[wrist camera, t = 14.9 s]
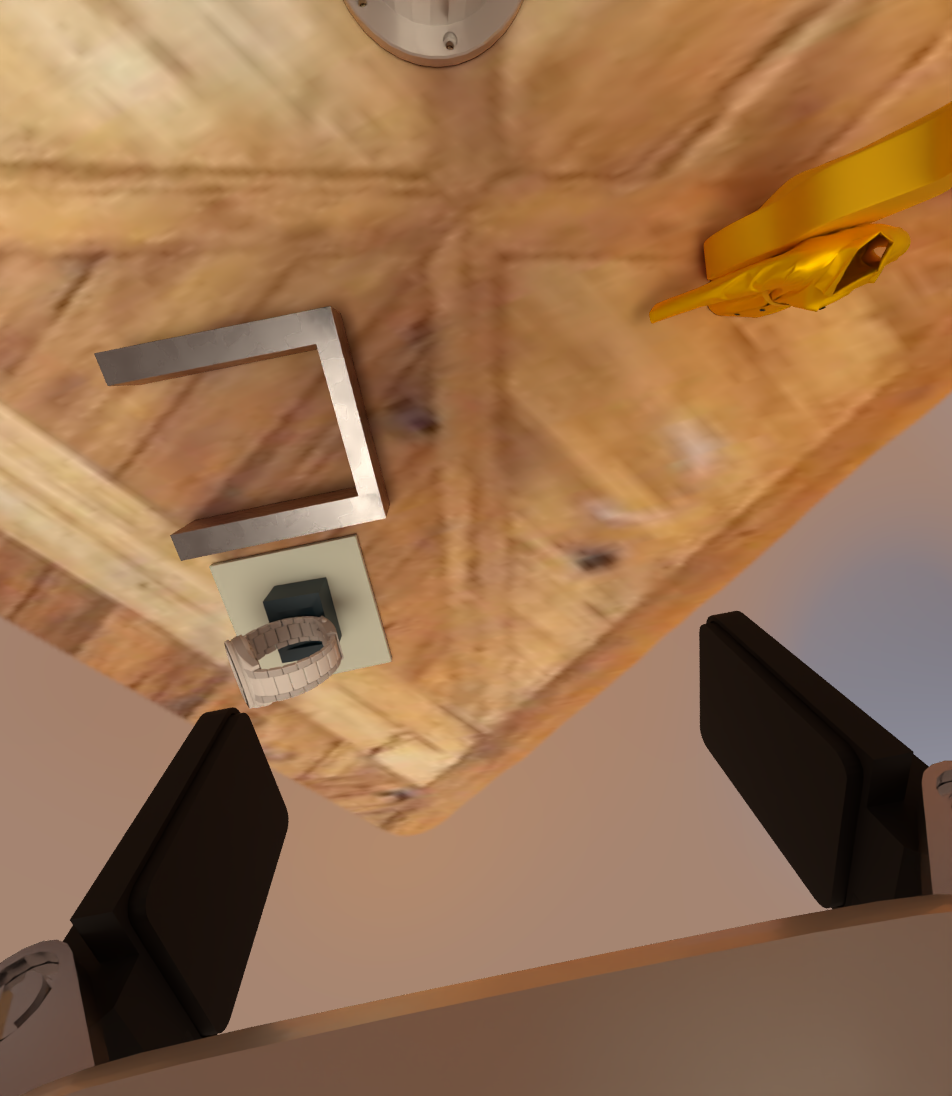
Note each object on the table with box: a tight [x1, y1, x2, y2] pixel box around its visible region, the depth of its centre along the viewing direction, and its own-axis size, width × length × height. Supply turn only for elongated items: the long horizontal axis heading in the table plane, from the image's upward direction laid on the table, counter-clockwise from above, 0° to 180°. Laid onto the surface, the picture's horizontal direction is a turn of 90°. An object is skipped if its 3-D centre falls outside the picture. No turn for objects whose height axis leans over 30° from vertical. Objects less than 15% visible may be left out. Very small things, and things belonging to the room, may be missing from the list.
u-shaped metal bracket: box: [94, 306, 390, 561], centre depth 37 cm, size 14×15×4 cm
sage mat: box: [209, 534, 392, 683], centre depth 43 cm, size 12×12×1 cm
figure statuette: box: [649, 101, 952, 323], centre depth 27 cm, size 18×8×22 cm, turn 104°
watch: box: [225, 577, 344, 709], centre depth 38 cm, size 6×8×11 cm
